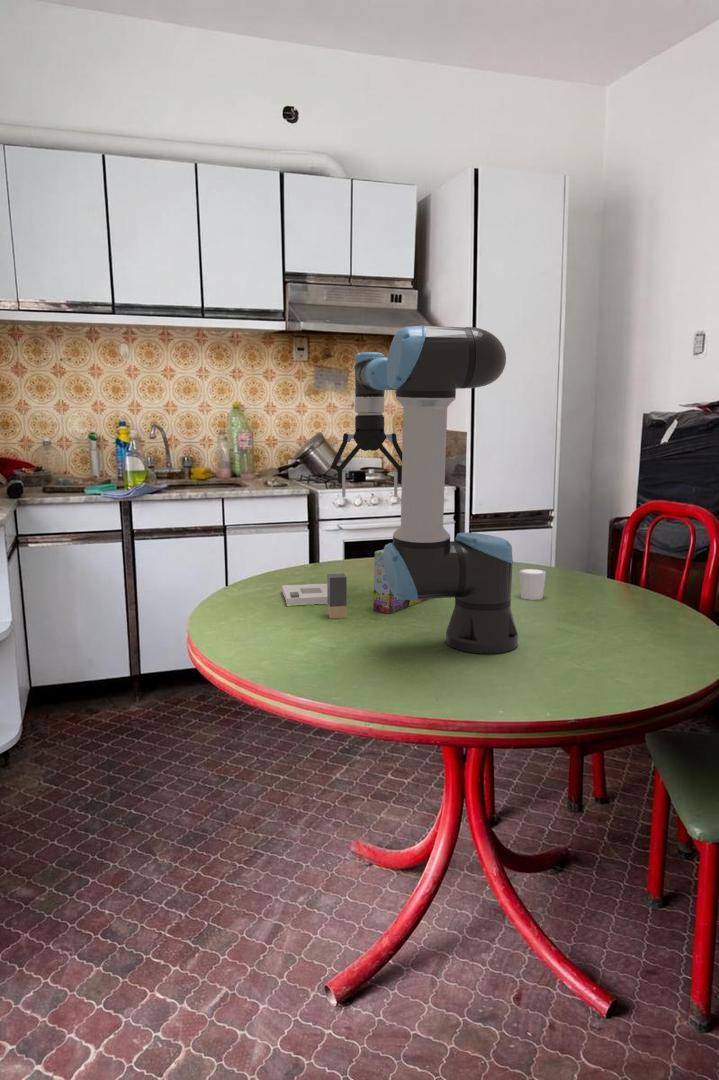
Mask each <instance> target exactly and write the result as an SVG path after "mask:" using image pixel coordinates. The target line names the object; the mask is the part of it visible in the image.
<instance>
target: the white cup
mask: <svg viewBox="0 0 719 1080" xmlns="http://www.w3.org/2000/svg"><path fill="white" fill-rule="evenodd" d="M546 575H547V572H546V571H545V570H544V569H536V568H523V569H520V570H519V585H520V586H519V587H520V598H521V599H523V600H530V601H538V600H539V601H540V600H542V599H543V598H544V590H545V583H546Z"/></svg>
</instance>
